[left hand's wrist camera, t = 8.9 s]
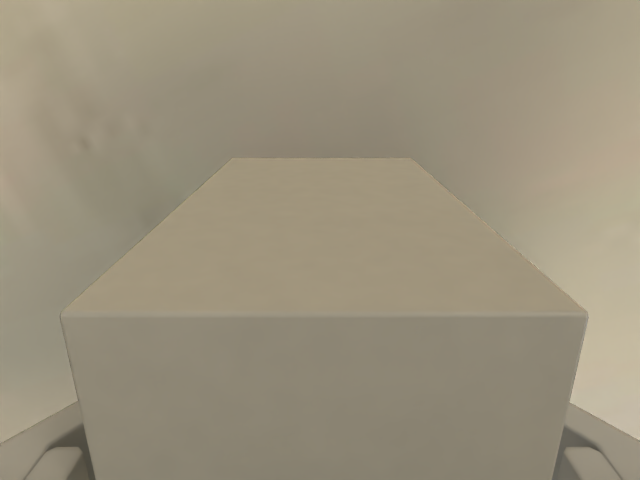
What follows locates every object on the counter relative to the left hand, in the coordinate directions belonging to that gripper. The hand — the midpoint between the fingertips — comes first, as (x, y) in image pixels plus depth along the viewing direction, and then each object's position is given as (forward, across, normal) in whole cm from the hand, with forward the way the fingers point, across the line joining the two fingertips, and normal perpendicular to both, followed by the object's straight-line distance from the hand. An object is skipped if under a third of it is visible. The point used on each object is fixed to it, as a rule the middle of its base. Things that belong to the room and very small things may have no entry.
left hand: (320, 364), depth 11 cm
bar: (+3, 0, +7) cm, 8 cm away
